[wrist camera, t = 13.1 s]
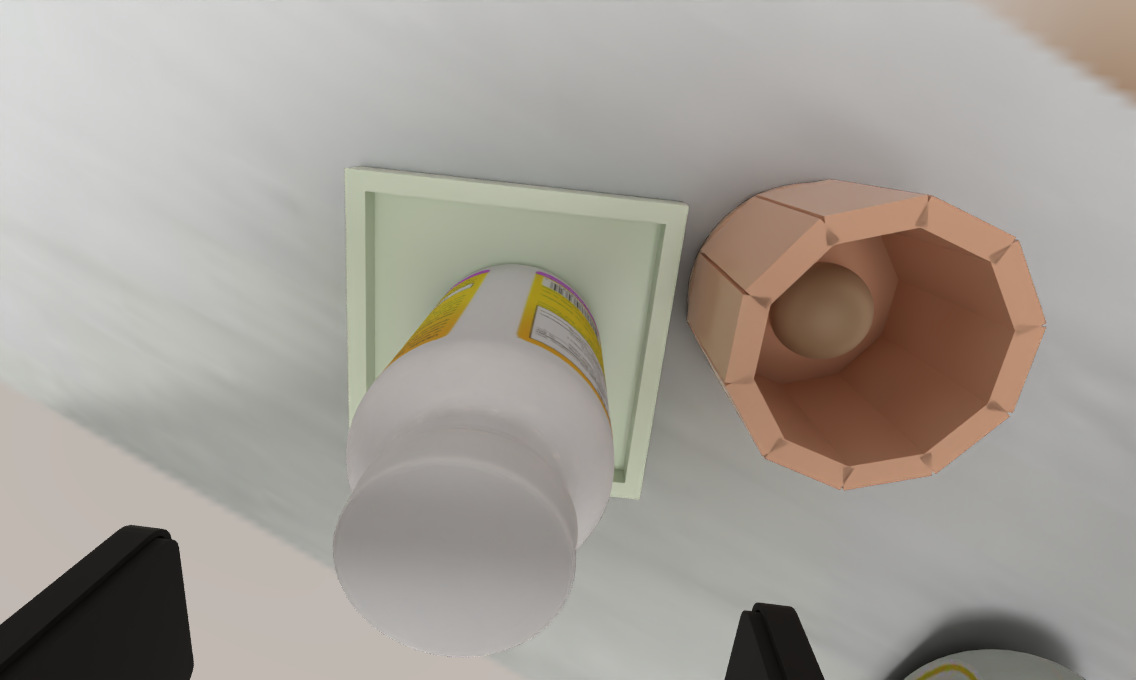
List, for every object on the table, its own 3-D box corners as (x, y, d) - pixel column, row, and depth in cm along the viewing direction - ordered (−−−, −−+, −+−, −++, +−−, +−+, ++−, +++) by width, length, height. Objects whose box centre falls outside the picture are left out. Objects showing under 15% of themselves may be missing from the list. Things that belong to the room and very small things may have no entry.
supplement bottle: (430, 410, 24) (282, 681, 12) (435, 251, 22) (260, 388, 10) (591, 426, 24) (603, 710, 12) (611, 270, 22) (650, 428, 10)
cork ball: (858, 259, 22) (906, 279, 19) (835, 345, 23) (877, 378, 20) (767, 249, 22) (800, 268, 19) (748, 335, 23) (776, 368, 20)
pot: (934, 190, 22) (1090, 213, 15) (869, 405, 25) (977, 503, 18) (709, 165, 22) (767, 177, 15) (670, 384, 24) (705, 476, 18)
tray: (681, 201, 22) (689, 206, 20) (635, 478, 26) (639, 499, 24) (360, 166, 22) (344, 168, 20) (363, 450, 26) (349, 470, 24)
